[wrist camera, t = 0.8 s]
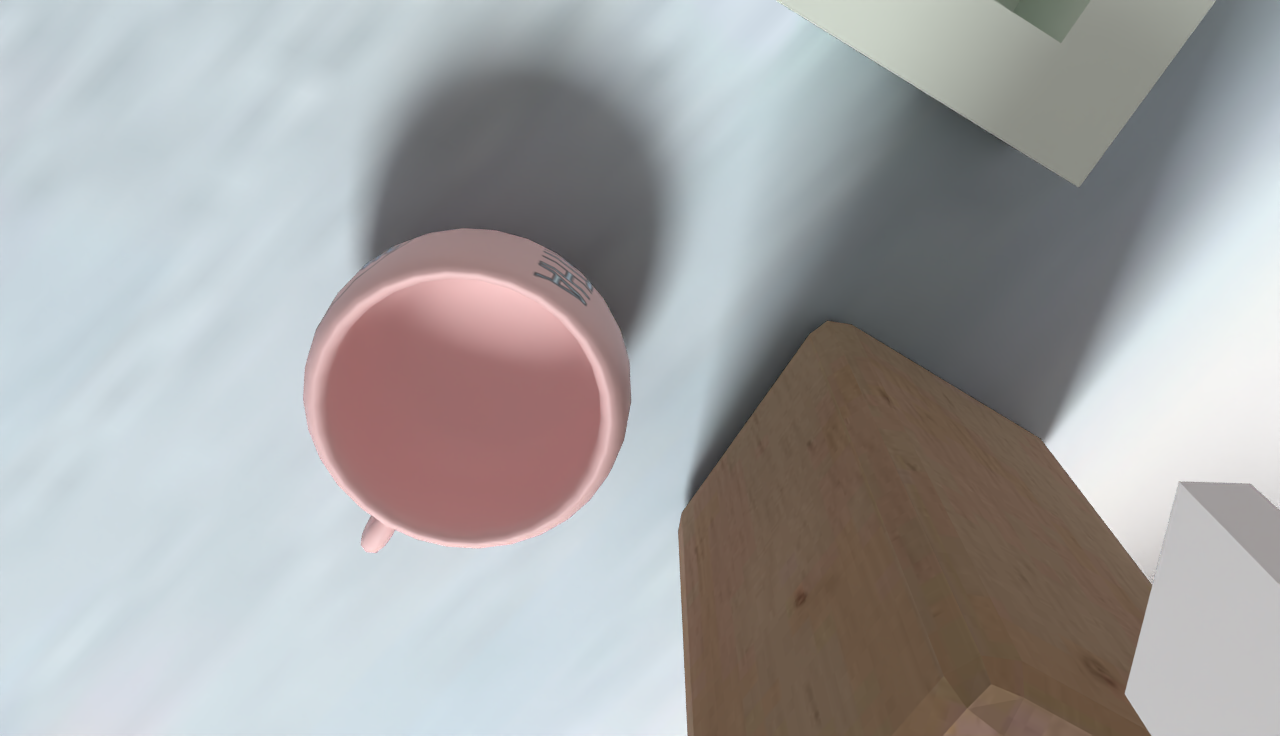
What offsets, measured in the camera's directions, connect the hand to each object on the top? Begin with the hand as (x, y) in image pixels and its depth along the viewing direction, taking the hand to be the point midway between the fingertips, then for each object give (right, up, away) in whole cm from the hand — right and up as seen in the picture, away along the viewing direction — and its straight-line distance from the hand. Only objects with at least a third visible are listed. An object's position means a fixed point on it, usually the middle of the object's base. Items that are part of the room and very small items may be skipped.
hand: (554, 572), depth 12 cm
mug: (-5, +2, +27) cm, 27 cm away
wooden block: (+9, -2, +28) cm, 30 cm away
